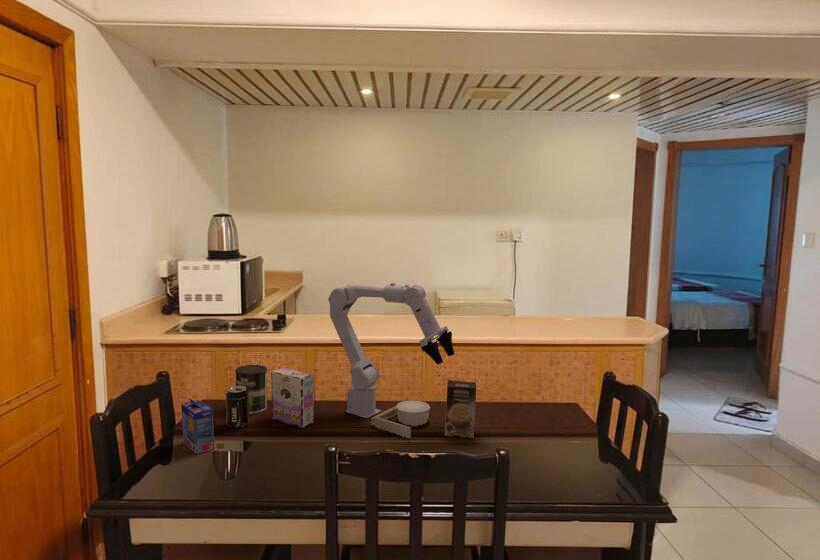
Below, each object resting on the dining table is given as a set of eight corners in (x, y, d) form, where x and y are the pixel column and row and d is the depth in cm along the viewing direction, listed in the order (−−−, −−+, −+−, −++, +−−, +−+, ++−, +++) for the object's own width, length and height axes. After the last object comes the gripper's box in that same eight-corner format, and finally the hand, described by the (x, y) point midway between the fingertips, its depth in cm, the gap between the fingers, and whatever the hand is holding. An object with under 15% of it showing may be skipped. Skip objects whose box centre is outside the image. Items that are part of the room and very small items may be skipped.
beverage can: (240, 431, 163) (239, 393, 162) (221, 427, 165) (220, 390, 164) (253, 422, 170) (252, 386, 168) (235, 419, 172) (234, 384, 170)
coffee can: (259, 415, 176) (258, 374, 174) (230, 412, 178) (229, 372, 176) (272, 404, 186) (271, 365, 184) (244, 402, 188) (244, 363, 186)
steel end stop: (375, 428, 168) (375, 417, 167) (376, 427, 168) (377, 417, 168) (409, 439, 161) (409, 428, 160) (410, 438, 161) (410, 427, 161)
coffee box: (444, 436, 163) (446, 386, 161) (445, 428, 170) (446, 379, 167) (474, 438, 162) (476, 388, 160) (473, 430, 169) (475, 381, 167)
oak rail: (370, 425, 170) (370, 418, 170) (395, 413, 181) (395, 406, 181) (374, 426, 169) (374, 419, 169) (398, 414, 180) (399, 407, 180)
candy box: (314, 423, 171) (314, 373, 169) (301, 429, 166) (301, 378, 164) (284, 413, 178) (283, 366, 176) (270, 419, 173) (270, 370, 171)
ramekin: (390, 417, 177) (391, 402, 177) (421, 413, 182) (421, 398, 181) (403, 430, 167) (404, 414, 167) (435, 425, 172) (435, 409, 171)
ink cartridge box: (181, 443, 154) (180, 395, 152) (200, 438, 158) (199, 391, 156) (195, 455, 147) (194, 405, 145) (214, 449, 151) (213, 400, 149)
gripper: (424, 323, 161) (444, 363, 160) (447, 310, 173) (466, 348, 172) (407, 330, 165) (427, 370, 164) (431, 318, 177) (449, 354, 176)
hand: (446, 359), depth 168 cm, fingers open, 7 cm apart
